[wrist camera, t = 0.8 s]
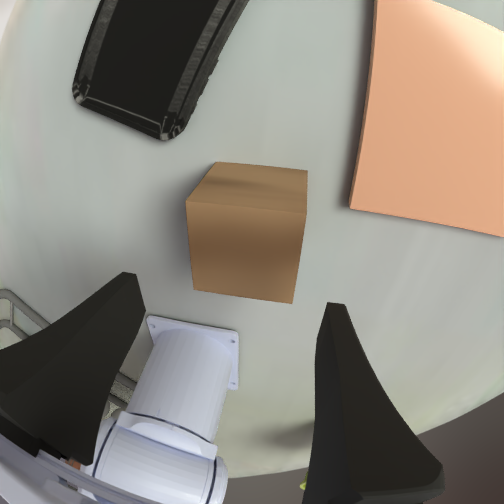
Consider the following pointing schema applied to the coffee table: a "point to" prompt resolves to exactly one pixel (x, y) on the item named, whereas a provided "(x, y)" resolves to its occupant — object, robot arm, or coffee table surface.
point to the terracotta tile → (433, 118)
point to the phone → (152, 60)
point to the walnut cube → (247, 230)
